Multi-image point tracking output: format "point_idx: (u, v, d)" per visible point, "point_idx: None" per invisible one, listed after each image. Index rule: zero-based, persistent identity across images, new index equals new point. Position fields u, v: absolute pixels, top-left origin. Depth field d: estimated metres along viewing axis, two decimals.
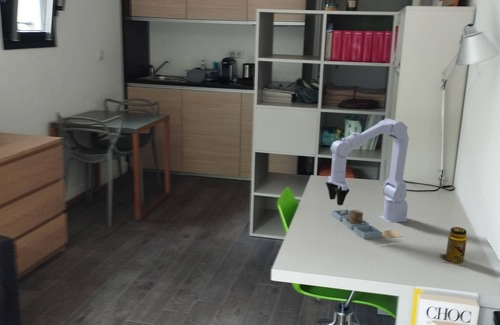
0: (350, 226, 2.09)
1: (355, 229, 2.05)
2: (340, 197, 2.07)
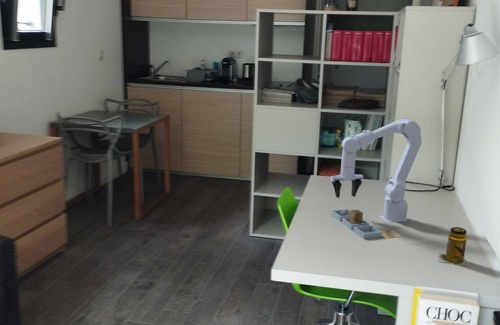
0: (350, 226, 2.09)
1: (355, 229, 2.05)
2: (336, 189, 2.18)
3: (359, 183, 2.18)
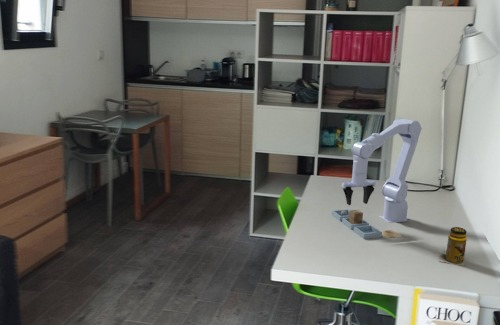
0: (350, 226, 2.09)
1: (355, 229, 2.05)
2: (347, 196, 2.09)
3: (371, 190, 2.08)
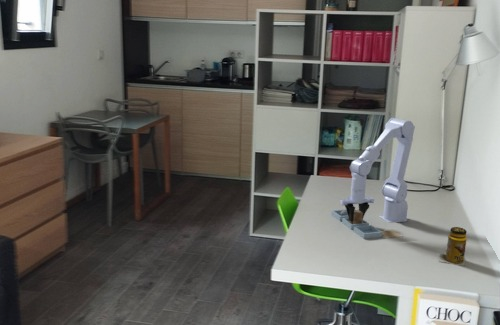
0: (350, 226, 2.09)
1: (355, 229, 2.05)
2: (349, 212, 2.11)
3: (366, 207, 2.10)
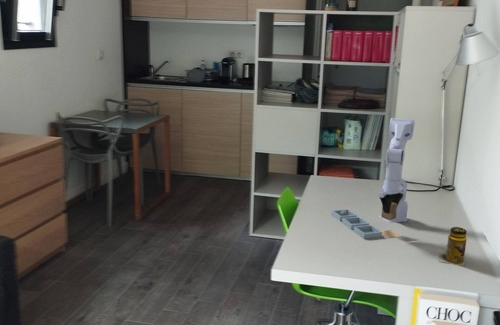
0: (350, 226, 2.09)
1: (355, 229, 2.05)
2: (385, 204, 2.01)
3: (401, 196, 2.02)
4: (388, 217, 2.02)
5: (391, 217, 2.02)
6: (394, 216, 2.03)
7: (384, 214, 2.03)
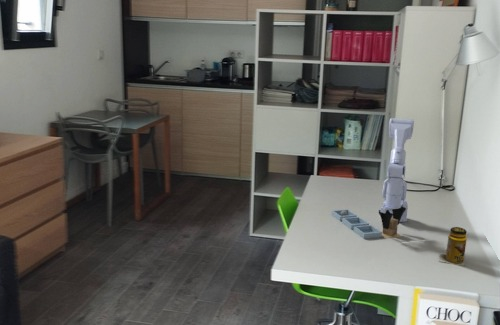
0: (350, 226, 2.09)
1: (355, 229, 2.05)
2: (385, 220, 2.01)
3: (404, 210, 2.04)
4: (389, 233, 2.02)
5: (392, 233, 2.03)
6: (395, 232, 2.04)
7: (385, 230, 2.04)
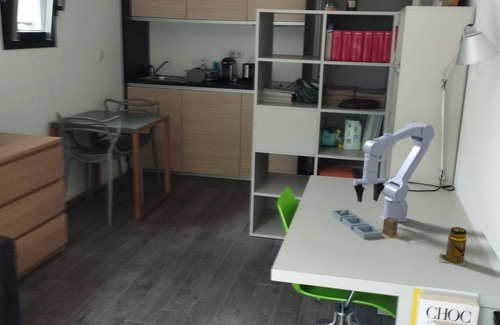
0: (350, 226, 2.09)
1: (355, 229, 2.05)
2: (358, 193, 2.13)
3: (382, 187, 2.13)
4: (389, 233, 2.02)
5: (392, 233, 2.03)
6: (395, 232, 2.04)
7: (385, 230, 2.04)
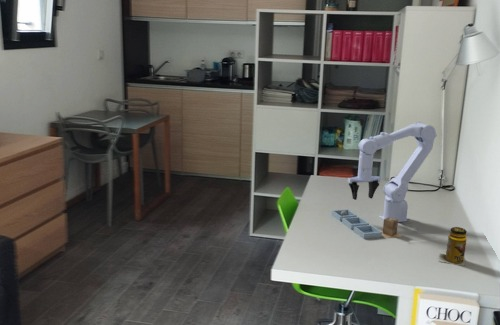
0: (350, 226, 2.09)
1: (355, 229, 2.05)
2: (353, 191, 2.16)
3: (376, 185, 2.16)
4: (389, 233, 2.02)
5: (392, 233, 2.03)
6: (395, 232, 2.04)
7: (385, 230, 2.04)
